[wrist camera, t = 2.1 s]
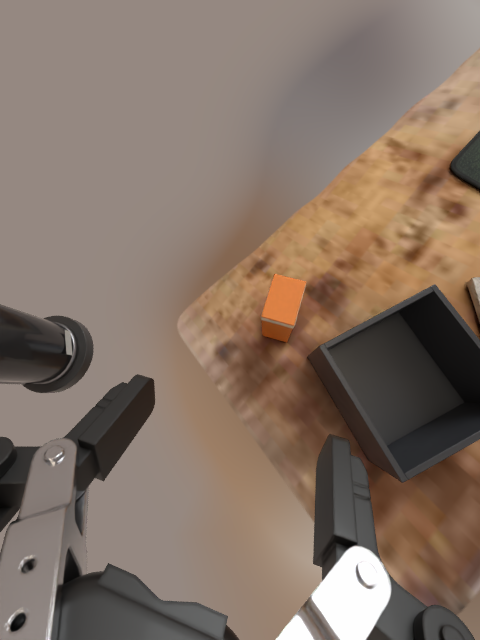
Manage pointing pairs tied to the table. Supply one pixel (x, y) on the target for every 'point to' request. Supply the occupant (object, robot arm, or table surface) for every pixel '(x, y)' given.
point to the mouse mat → (469, 162)
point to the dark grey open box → (406, 383)
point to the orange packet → (282, 307)
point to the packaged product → (475, 293)
